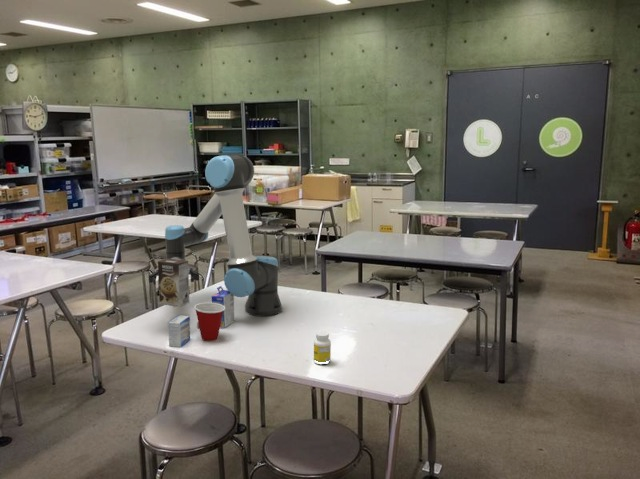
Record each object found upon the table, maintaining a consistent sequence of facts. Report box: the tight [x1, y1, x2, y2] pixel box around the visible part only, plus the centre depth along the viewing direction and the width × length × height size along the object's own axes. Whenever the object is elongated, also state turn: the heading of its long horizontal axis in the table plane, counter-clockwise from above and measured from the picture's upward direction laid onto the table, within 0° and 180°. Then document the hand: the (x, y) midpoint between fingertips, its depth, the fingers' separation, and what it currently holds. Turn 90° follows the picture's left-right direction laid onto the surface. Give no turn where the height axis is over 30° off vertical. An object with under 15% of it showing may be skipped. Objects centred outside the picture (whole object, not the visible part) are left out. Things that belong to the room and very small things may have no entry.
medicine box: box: [167, 315, 191, 348], centre depth 183 cm, size 8×4×9 cm, turn 168°
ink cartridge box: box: [211, 285, 235, 329], centre depth 202 cm, size 10×6×14 cm, turn 167°
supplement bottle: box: [313, 330, 332, 362], centre depth 169 cm, size 5×5×10 cm
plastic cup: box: [193, 302, 225, 342], centre depth 187 cm, size 11×11×12 cm
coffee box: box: [157, 258, 190, 308], centre depth 192 cm, size 9×6×16 cm
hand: (173, 283), depth 188 cm, fingers closed on coffee box, 10 cm apart
